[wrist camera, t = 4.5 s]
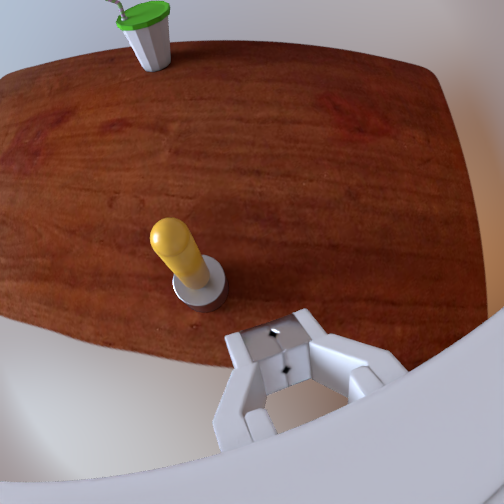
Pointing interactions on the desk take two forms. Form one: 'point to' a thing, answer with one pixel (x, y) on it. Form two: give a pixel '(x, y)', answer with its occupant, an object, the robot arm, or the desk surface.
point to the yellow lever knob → (189, 266)
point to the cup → (147, 32)
